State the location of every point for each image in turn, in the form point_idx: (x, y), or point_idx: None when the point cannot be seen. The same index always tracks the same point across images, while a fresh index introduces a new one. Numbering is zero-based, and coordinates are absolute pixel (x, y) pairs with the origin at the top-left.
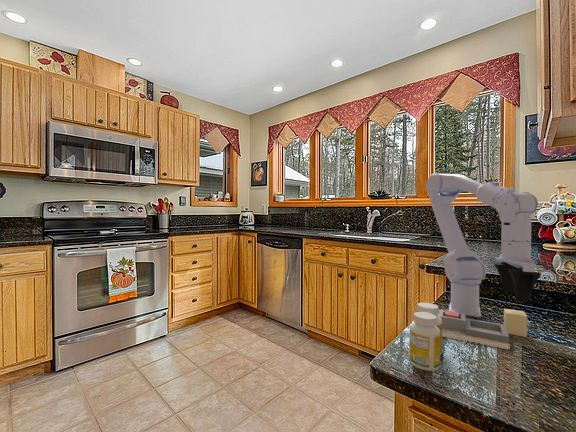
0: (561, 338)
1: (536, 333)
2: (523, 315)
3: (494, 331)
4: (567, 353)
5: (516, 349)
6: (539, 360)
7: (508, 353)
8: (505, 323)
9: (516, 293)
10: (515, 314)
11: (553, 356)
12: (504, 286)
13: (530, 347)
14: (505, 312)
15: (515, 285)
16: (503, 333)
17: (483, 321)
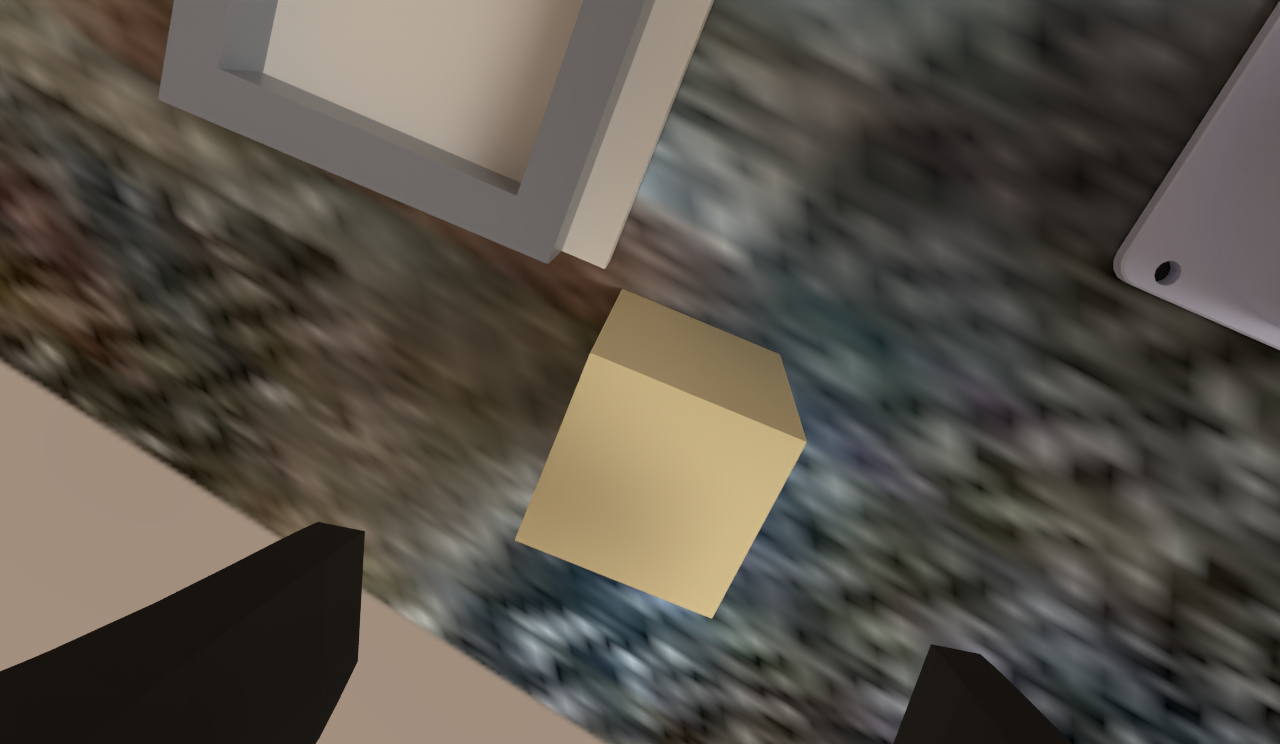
0: (591, 679)
1: None
2: (542, 518)
3: (517, 125)
4: (296, 527)
5: (238, 163)
6: (78, 232)
7: (118, 30)
8: (653, 328)
9: (227, 569)
10: (558, 444)
11: (201, 391)
12: (975, 725)
13: (325, 319)
14: (650, 374)
15: (31, 673)
16: (241, 88)
17: (610, 42)
